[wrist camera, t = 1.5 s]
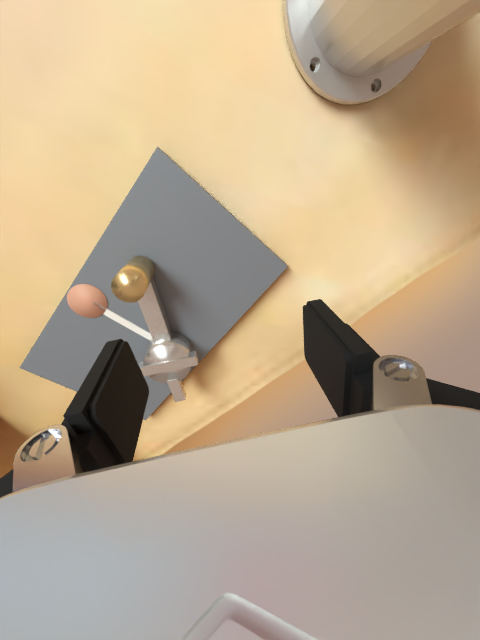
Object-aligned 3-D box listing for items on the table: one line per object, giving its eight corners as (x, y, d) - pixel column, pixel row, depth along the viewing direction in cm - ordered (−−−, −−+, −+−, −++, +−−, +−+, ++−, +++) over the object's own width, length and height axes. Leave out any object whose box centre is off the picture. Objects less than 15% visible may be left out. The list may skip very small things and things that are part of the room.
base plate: (159, 148, 22) (157, 146, 21) (284, 263, 29) (288, 266, 27) (25, 361, 30) (18, 368, 29) (147, 413, 37) (145, 420, 35)
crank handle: (206, 376, 33) (207, 408, 28) (157, 387, 33) (150, 420, 28) (169, 249, 25) (162, 265, 20) (103, 262, 25) (81, 280, 20)
